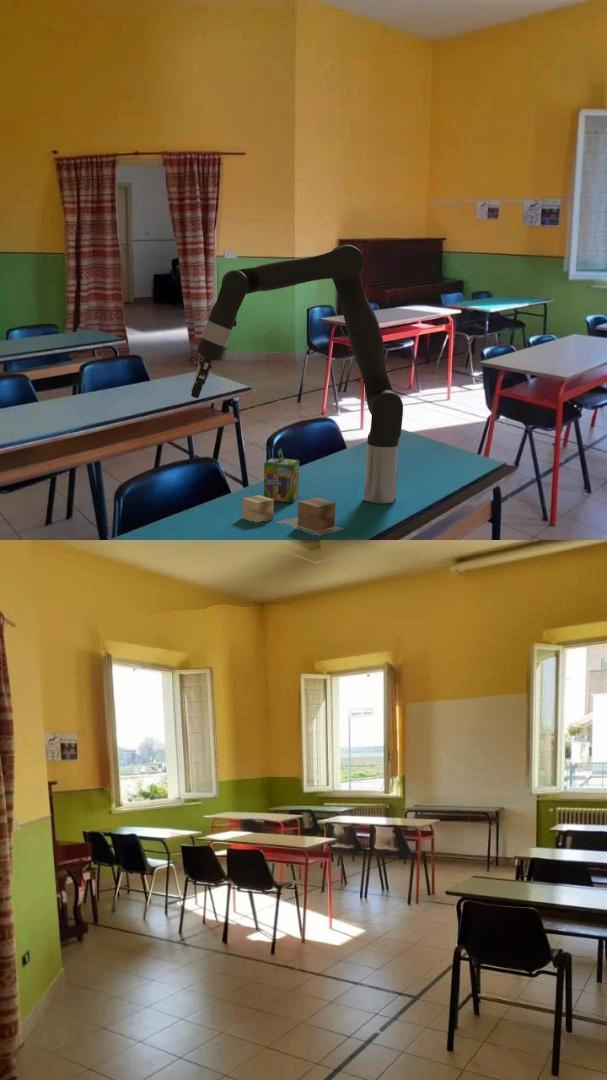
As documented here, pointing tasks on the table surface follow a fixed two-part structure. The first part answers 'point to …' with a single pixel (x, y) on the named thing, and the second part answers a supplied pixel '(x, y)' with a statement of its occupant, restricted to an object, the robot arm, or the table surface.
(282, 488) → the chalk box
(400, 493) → the table surface
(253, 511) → the beech block
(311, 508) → the walnut block
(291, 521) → the reading mat
